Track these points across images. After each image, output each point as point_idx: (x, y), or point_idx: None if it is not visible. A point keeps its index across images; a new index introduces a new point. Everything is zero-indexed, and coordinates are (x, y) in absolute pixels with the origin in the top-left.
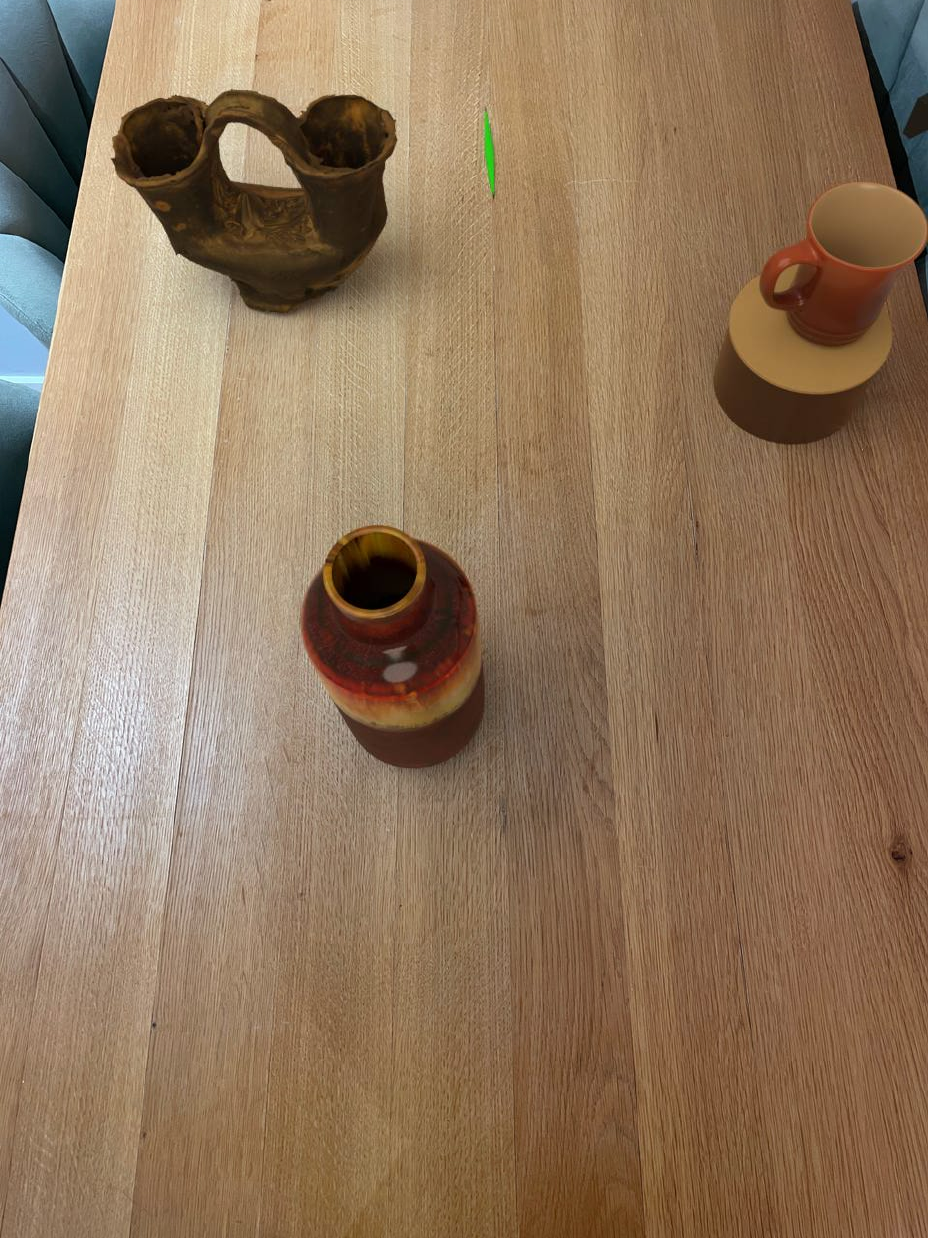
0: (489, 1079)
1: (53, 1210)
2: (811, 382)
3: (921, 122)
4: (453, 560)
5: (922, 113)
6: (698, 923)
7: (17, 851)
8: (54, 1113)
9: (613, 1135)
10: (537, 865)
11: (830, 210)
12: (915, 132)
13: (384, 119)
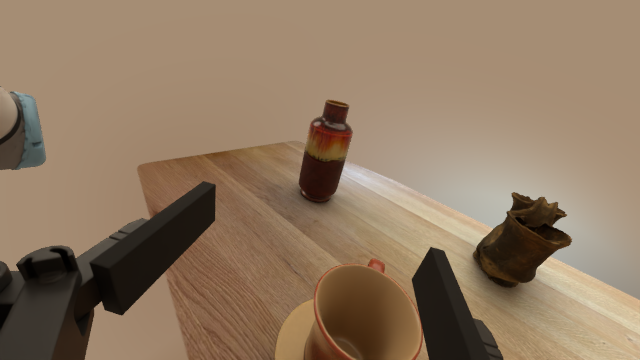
0: (245, 160)
1: (293, 141)
2: (304, 309)
3: (420, 271)
4: (332, 132)
5: (425, 257)
6: (217, 185)
7: (345, 160)
8: (304, 146)
9: (216, 160)
10: (263, 182)
11: (403, 327)
12: (415, 279)
13: (552, 242)
